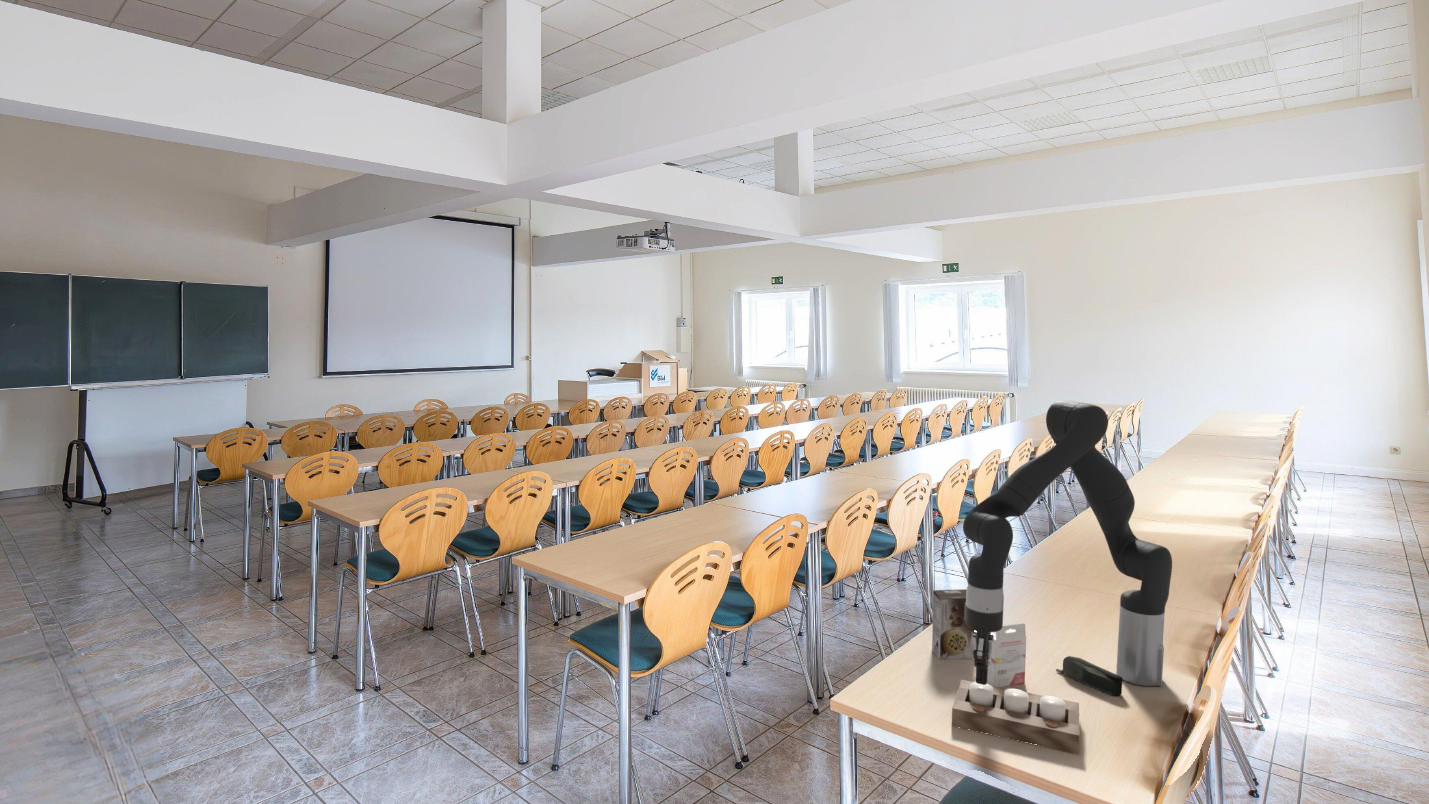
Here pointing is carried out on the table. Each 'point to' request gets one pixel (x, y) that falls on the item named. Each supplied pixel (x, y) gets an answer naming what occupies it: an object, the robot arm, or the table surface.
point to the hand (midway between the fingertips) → (981, 682)
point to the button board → (1017, 720)
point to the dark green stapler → (1092, 675)
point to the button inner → (1052, 708)
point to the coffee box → (951, 625)
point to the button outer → (981, 694)
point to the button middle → (1016, 701)
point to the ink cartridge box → (1008, 656)
